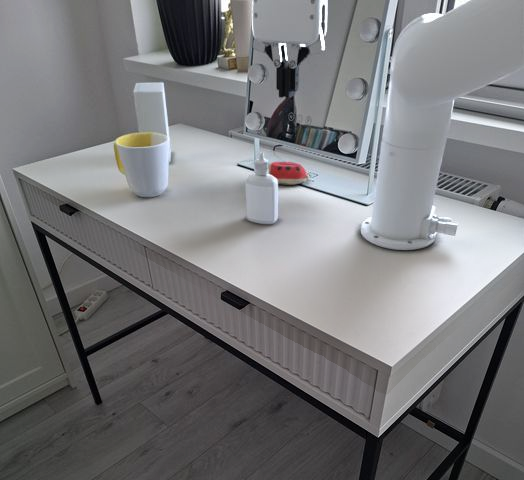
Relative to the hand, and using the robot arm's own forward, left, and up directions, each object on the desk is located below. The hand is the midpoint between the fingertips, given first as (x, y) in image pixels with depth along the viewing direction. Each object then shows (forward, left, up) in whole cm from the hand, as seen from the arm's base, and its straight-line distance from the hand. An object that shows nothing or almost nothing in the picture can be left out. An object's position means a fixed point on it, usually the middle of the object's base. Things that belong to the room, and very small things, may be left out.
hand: (287, 95), depth 77 cm
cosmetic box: (+40, -23, -21) cm, 51 cm away
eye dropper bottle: (+4, 0, -21) cm, 22 cm away
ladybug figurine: (+7, -20, -21) cm, 30 cm away
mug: (+32, -5, -21) cm, 39 cm away
